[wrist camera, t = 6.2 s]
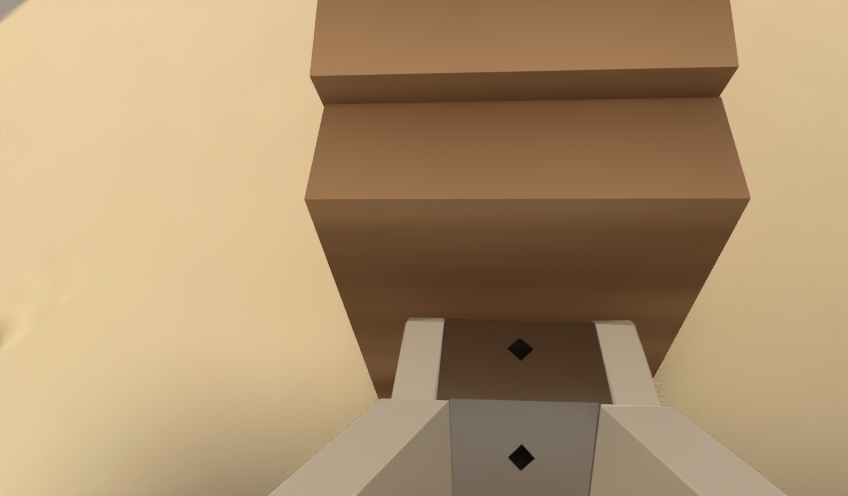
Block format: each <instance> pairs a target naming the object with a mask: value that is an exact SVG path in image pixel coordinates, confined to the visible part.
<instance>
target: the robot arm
mask: <svg viewBox="0 0 848 496" xmlns="http://www.w3.org/2000/svg"><path fill="white" fill-rule="evenodd" d="M268 496H788V495H787V494H786V493H784V492H783V491H782V490H780V489H779V488H778V487H777V486H775V485H774V484H773V483H771V482H770V481H769V480H768V479H766V478H765V477H764V476H762V475H761V474H760V473H759V472H757V471H756V470H755V469H753V468H752V467H751V466H750V465H748V464H747V463H746V462H745V461H743V460H742V459H741V458H739V457H738V456H737V455H736V454H734V453H733V452H732V451H730V450H729V449H728V448H727V447H725V446H724V445H723V444H721V443H720V442H719V441H718V440H716V439H715V438H714V437H712V436H711V435H710V434H709V433H707V432H706V431H705V430H703V429H702V428H701V427H700V426H698V425H697V424H696V423H695V422H693V421H692V420H691V419H689V418H688V417H687V416H686V415H684V414H683V413H682V412H680V411H679V410H678V409H677V408H675V407H672V406H662V405H661V402H660V399H659V396H658V393H657V390H656V387H655V384H654V381H653V378H652V375H651V372H650V369H649V366H648V363H647V360H646V357H645V354H644V351H643V348H642V345H641V342H640V339H639V336H638V333H637V330H636V326H635V324H634V323H633V322H632V321H630V320H610V321H592V322H534V321H513V320H484V319H456V318H446V320H445V319H443V318H409V319H408V321H407V322H406V324H405V329H404V334H403V340H402V345H401V350H400V355H399V361H398V366H397V371H396V377H395V382H394V387H393V392H392V398H391V399H379V400H378V401H377V402H376V403H375V404H373V405H372V406H371V407H370V408H369V409H368V410H366V411H365V412H364V413H363V414H362V415H361V416H359V417H358V418H357V419H356V420H355V421H354V422H352V423H351V424H350V425H349V426H348V427H347V428H346V429H344V430H343V431H342V432H341V433H340V434H339V435H337V436H336V437H335V438H334V439H333V440H332V441H330V442H329V443H328V444H327V445H326V446H325V447H323V448H322V449H321V450H320V451H319V452H318V453H316V454H315V455H314V456H313V457H312V458H311V459H310V460H308V461H307V462H306V463H305V464H304V465H303V466H301V467H300V468H299V469H298V470H297V471H296V472H294V473H293V474H292V475H291V476H290V477H289V478H287V479H286V480H285V481H284V482H283V483H282V484H281V485H279V486H278V487H277V488H276V489H275V490H274V491H272V492H271V493H270V494H269V495H268Z"/></svg>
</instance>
